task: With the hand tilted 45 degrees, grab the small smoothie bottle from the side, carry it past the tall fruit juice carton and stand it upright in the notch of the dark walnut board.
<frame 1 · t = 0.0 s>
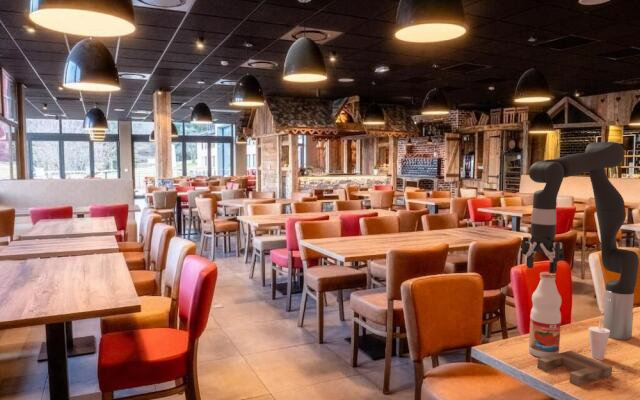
hand: (540, 270, 163), 29 cm above the table, tool pointing down, fingers open, 8 cm apart
notched board: (573, 371, 153), on the table
smoothie: (597, 358, 165), on the table
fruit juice: (543, 354, 167), on the table
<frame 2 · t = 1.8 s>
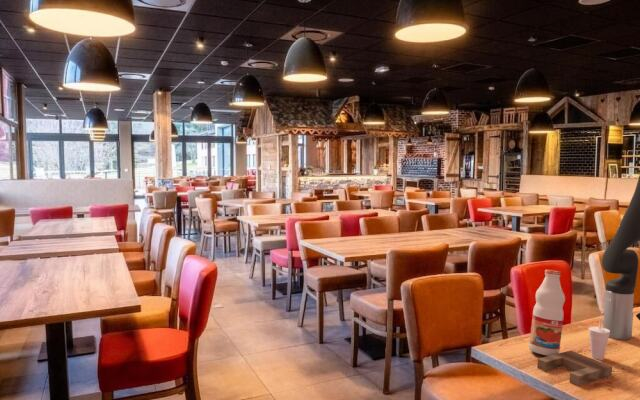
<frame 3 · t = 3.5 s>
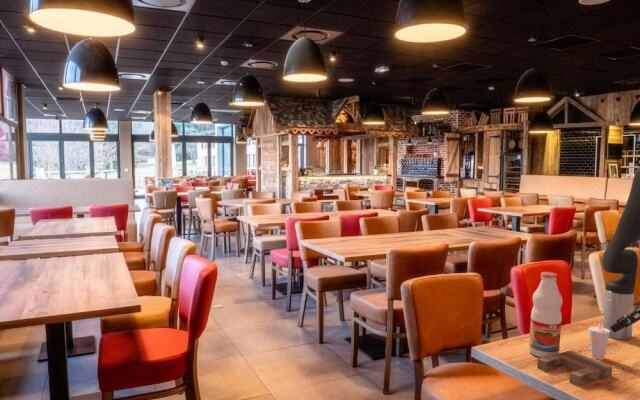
hand: (615, 326, 161), 12 cm above the table, tool tilted 45°, fingers open, 8 cm apart
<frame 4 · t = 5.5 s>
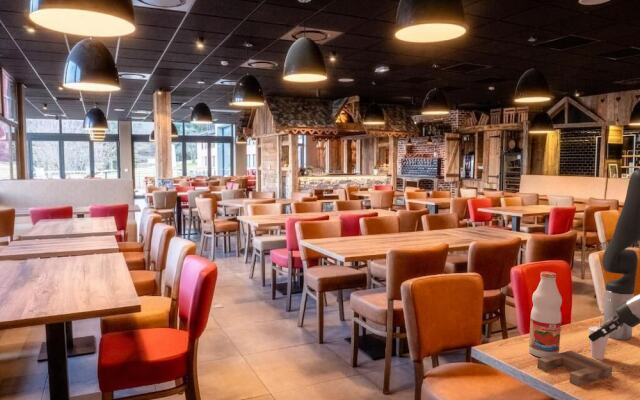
hand: (593, 336, 166), 7 cm above the table, tool tilted 45°, fingers closed on smoothie, 6 cm apart
smoothie: (597, 357, 165), on the table, touching gripper
everything else where it was.
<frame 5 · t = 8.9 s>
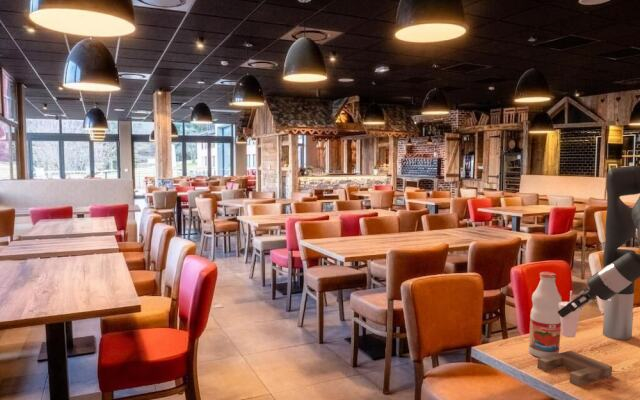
hand: (563, 312, 150), 19 cm above the table, tool tilted 45°, fingers closed on smoothie, 6 cm apart
smoothie: (568, 336, 150), point 12 cm above the table, touching gripper
everything else where it was.
when the fingers open (8 cm above the table, at t = 11.5 s): smoothie drops 1 cm, on the table.
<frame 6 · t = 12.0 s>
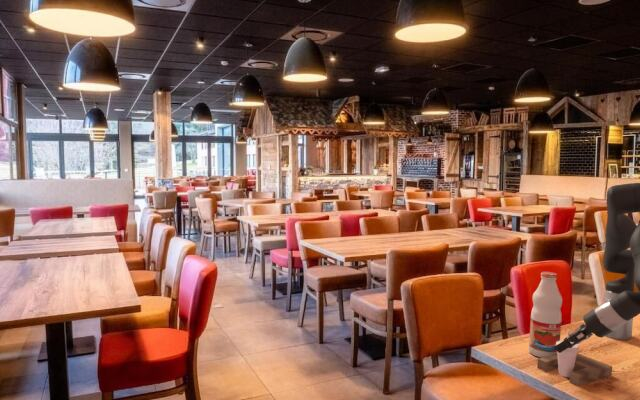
hand: (561, 346, 151), 9 cm above the table, tool tilted 45°, fingers open, 8 cm apart
smoothie: (565, 375, 151), on the table
everything else where it was.
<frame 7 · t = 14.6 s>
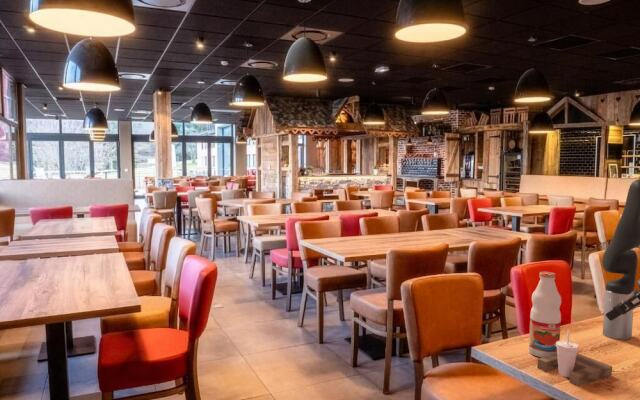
hand: (611, 314, 142), 22 cm above the table, tool tilted 45°, fingers open, 8 cm apart
nothing on the table moved.
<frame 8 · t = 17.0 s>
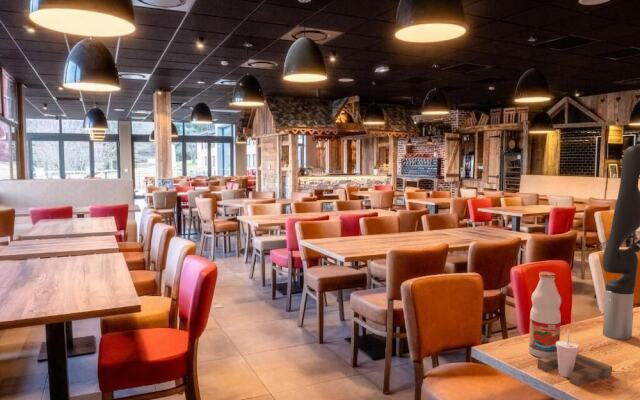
hand: (625, 255, 153), 37 cm above the table, tool tilted 45°, fingers open, 8 cm apart
nothing on the table moved.
at the end: smoothie 0.3 cm from the target spot on the notched board, point 0.0 cm above the notched board's base; smoothie tilted 0°; the gripper is holding nothing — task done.
